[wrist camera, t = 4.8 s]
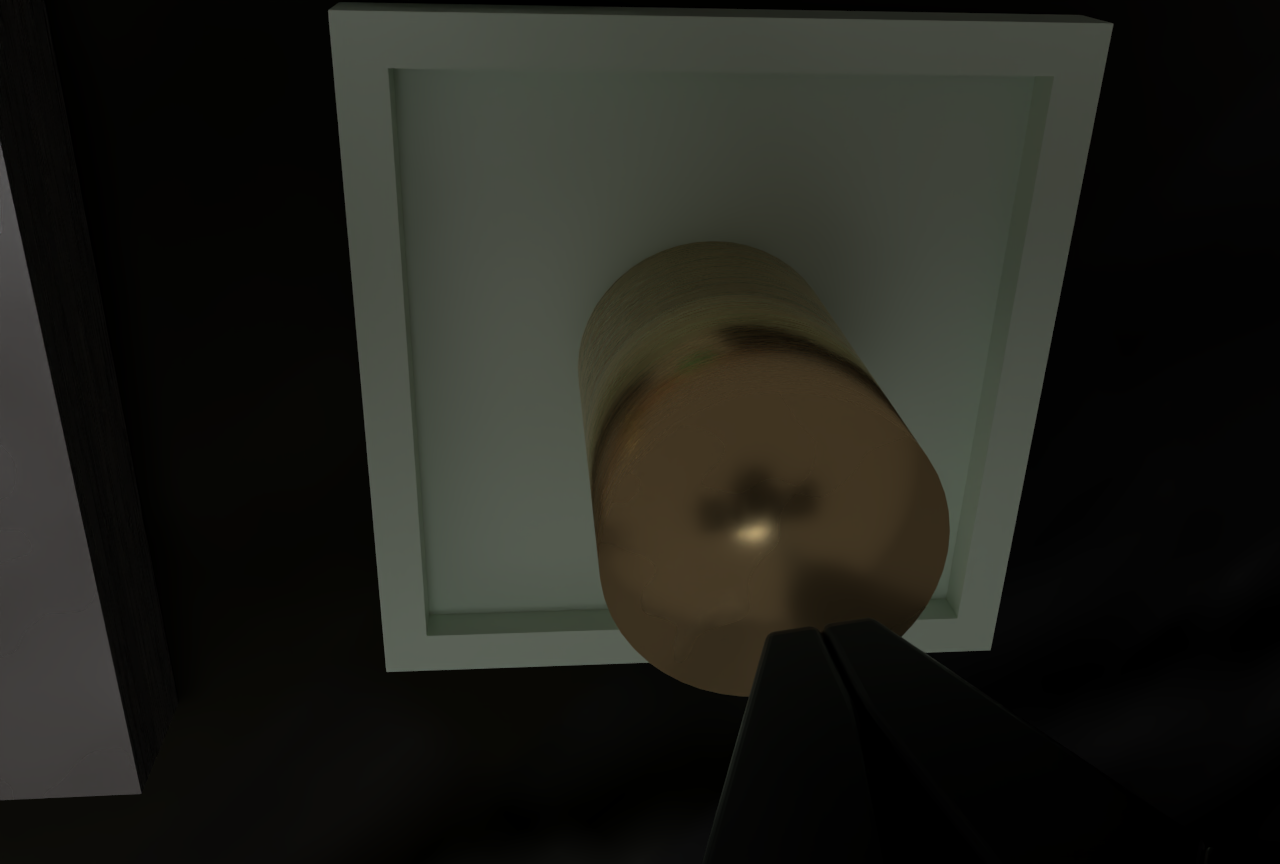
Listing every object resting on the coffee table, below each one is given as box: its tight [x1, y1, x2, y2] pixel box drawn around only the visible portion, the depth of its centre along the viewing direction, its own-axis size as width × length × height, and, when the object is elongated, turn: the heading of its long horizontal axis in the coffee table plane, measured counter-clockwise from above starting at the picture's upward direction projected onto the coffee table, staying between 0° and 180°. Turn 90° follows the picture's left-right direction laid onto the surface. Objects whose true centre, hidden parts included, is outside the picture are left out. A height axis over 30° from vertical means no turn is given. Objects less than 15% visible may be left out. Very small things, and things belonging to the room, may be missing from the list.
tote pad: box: [328, 2, 1113, 672], centre depth 18 cm, size 10×10×1 cm
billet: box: [578, 241, 950, 696], centre depth 15 cm, size 4×4×6 cm
